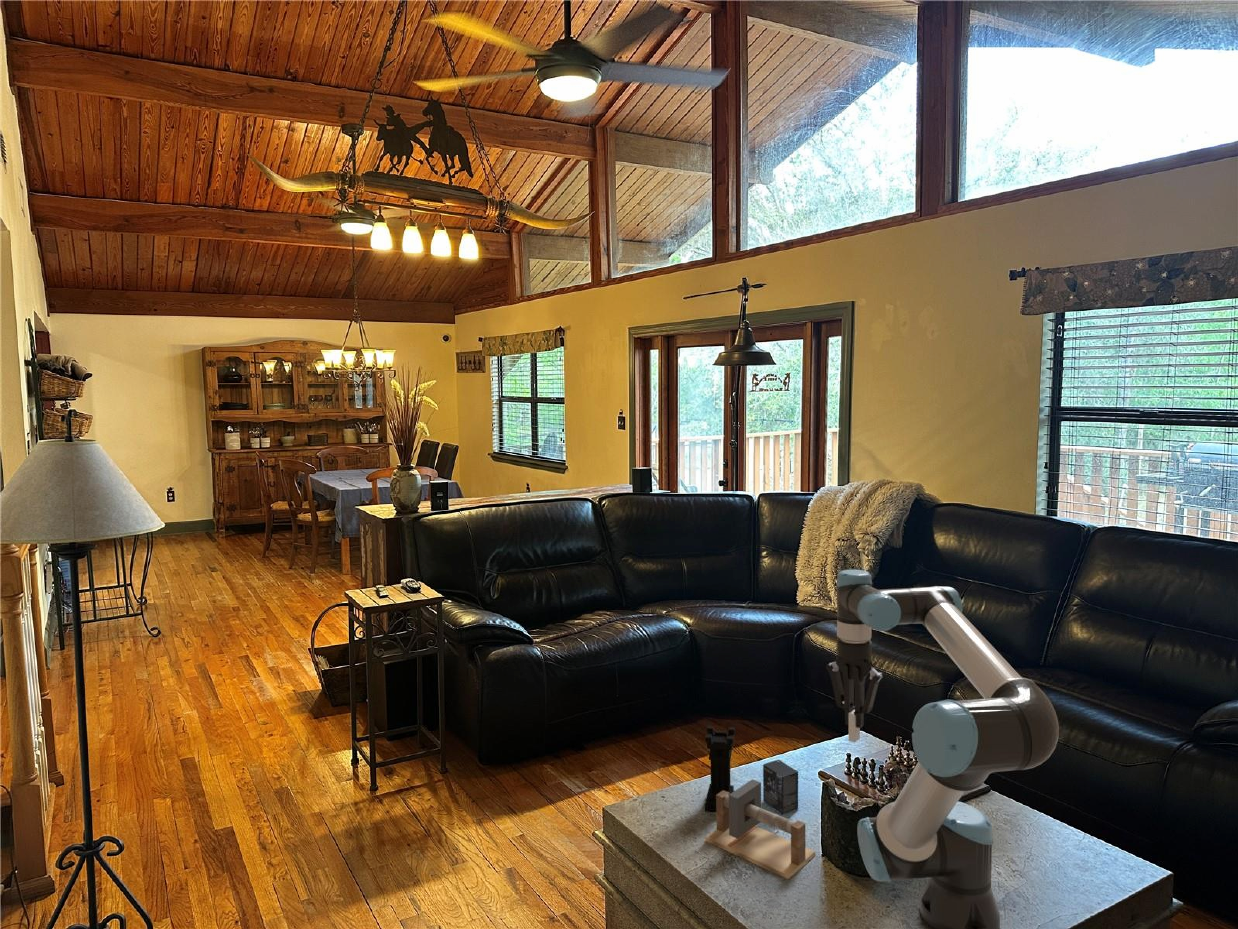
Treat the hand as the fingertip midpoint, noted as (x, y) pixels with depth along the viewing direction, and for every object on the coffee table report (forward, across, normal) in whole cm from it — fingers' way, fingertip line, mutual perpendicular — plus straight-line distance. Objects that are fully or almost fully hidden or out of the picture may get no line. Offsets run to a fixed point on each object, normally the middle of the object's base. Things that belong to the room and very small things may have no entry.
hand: (854, 739), depth 180 cm
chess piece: (+29, +38, -1) cm, 48 cm away
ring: (+25, +24, +9) cm, 36 cm away
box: (+29, +26, -11) cm, 40 cm away
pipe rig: (+29, +20, +9) cm, 36 cm away
